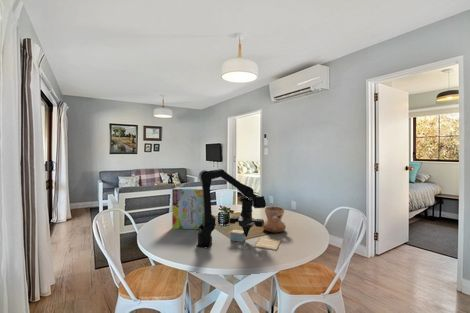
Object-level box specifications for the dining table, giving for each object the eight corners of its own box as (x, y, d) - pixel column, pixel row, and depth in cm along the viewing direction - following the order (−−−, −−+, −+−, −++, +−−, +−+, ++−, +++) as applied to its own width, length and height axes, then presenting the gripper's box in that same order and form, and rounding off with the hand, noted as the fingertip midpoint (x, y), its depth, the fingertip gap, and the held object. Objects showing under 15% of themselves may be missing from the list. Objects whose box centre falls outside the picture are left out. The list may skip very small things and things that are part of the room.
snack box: (207, 226, 161) (208, 187, 161) (204, 230, 153) (205, 189, 152) (176, 224, 164) (176, 186, 163) (171, 228, 155) (171, 188, 154)
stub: (230, 240, 137) (230, 232, 136) (233, 237, 141) (233, 229, 141) (242, 242, 134) (242, 233, 134) (245, 239, 139) (245, 230, 139)
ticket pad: (253, 246, 128) (253, 245, 128) (259, 238, 140) (259, 237, 140) (276, 250, 124) (276, 248, 124) (280, 241, 136) (280, 240, 136)
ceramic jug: (286, 236, 145) (287, 212, 145) (262, 234, 147) (262, 210, 147) (284, 227, 163) (285, 206, 163) (262, 225, 165) (263, 204, 165)
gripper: (225, 210, 131) (225, 239, 131) (259, 214, 125) (259, 244, 125) (233, 206, 142) (232, 232, 142) (264, 209, 135) (264, 237, 136)
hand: (246, 236), depth 136 cm, fingers closed
